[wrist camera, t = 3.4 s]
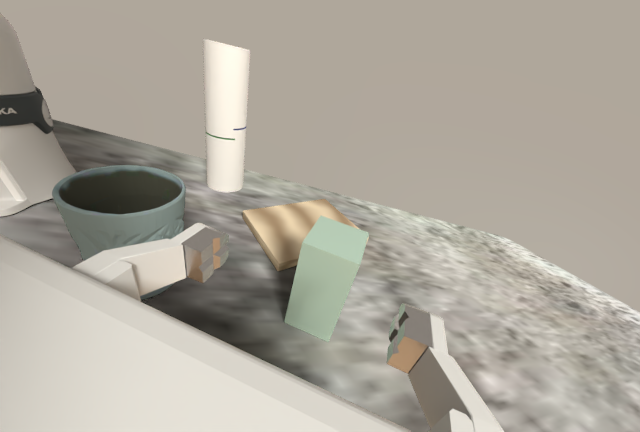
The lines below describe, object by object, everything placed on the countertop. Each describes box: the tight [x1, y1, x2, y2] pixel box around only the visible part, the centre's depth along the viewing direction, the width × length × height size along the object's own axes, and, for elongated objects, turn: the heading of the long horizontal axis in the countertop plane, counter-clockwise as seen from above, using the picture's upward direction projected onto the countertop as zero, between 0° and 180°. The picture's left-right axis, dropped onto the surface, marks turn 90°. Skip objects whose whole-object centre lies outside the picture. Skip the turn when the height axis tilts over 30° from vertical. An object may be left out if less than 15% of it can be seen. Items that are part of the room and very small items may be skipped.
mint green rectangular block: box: [284, 216, 369, 342], centre depth 27 cm, size 6×6×12 cm
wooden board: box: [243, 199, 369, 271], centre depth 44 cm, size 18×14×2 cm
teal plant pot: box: [52, 165, 186, 300], centre depth 27 cm, size 10×10×12 cm
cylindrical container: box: [203, 39, 250, 192], centre depth 46 cm, size 7×7×25 cm
